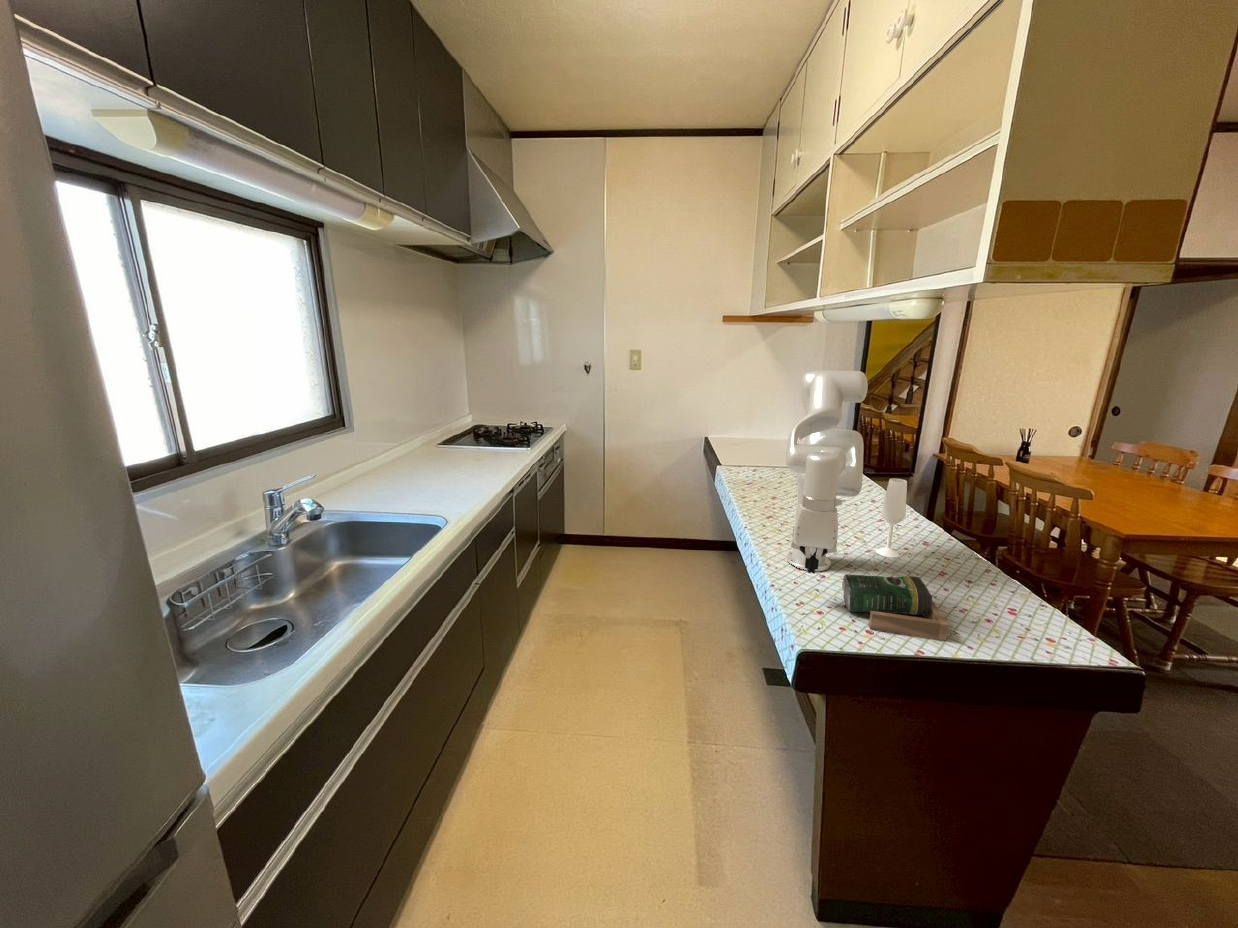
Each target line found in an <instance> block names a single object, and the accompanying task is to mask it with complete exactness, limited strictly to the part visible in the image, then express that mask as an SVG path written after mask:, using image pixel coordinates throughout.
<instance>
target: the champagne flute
mask: <svg viewBox="0 0 1238 928" xmlns="http://www.w3.org/2000/svg"><path fill="white" fill-rule="evenodd" d="M887 483H888V484H887V486H886V487H887V488H886V492H885V496H884V498H883V503H882V507H881V511H880V515H881V516H882V519H883V520H885V521H886V523H887V524H889V525H888V526H889V527H888V532H887V537H886V546H884V547H881V548H880V547H879V548H878V549H877V548H876V549H875V553H876V554H878V555H880V556H883V557H886V558H887V557H888V558H898V557H900V554H899V552H897V551H896V550H895V549H893V548H892V547H891V546H892V540H893V534H894V533H893V531H894V526H895V525H897V524H900V523H901V522H902V521H903V520H904V519H905V518H906V517H907V516H906V515H907V514H906V512H907V511H906V510H907V489H908V481H907V480H906V479H903V478H895V477H894V478H889V479H888V482H887Z"/></svg>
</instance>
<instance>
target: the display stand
mask: <svg viewBox="0 0 1238 928" xmlns="http://www.w3.org/2000/svg"><path fill="white" fill-rule="evenodd" d="M869 613H870V614H869V619H868V620H869V621H868V628H870V629H872V631H877V630H878V631H877V632H883V631H884V632H885V633H891V634H898V635H903V636H904V635H905V636H912V637H918V638H925V639H931V640H937V639H939V640H938V641H944V640H947V637H948V636H947V635H948V629H949V623H948V622H947V620H946V619H945V617H944V616H943V614H942V613H941V611H940V610H939V608H938V606H937V605H936V603H935V601H934V600H933V599H932V610H931V611H930V612H929V613H928V614H924V615H923V616H925V617H917V616H912V615H911V616H910V615H903V614H897V613H891V612H876V611H871V612H869ZM870 629H869V630H870Z"/></svg>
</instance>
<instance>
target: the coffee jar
mask: <svg viewBox="0 0 1238 928" xmlns="http://www.w3.org/2000/svg"><path fill="white" fill-rule="evenodd" d="M841 582H842V584H841V585H842V586H841V587H842V590H843V595H842V596H843V600H844V604H845V606H846V608H847V610H848V611H849V612H851V613H871V611H876V612H883V613H893V614H897V613H898V614H908V615H911V616H912V615H913V616H918V615H919V616H921V615H923V616H924V614H928V613H929V612H930V611H931V610H932V600H933V595H931V592H930V591H929V589H928V588H927V585H926V584H925V583H924V582H923V580H922V579H921V577H920V576H919V577H918V576H911V575H902V576H901V575H900V576H881V575H865V574H847V573H846V574H844V575H843V580H842V581H841Z"/></svg>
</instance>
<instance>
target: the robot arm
mask: <svg viewBox="0 0 1238 928" xmlns="http://www.w3.org/2000/svg"><path fill="white" fill-rule="evenodd" d="M868 386H869V385H868V378H867V375H866V374H865V372H862V371H861V370H835V369H834V370H833V369H832V370H831V369H826V370H825V369H824V370H823V369H818V370H811V371H808V372H805V373H804V374H803V376H802V377H801V382H800V396H801V400H802V405H803V407H804V412H805V414H806V415H804V416H803V417H802V418H801V419H800V420H799V421H798V422H797V423H795V425H794V426H793V427H792V429H791V431H790V433H789V434H788V437H787V446H786V455H785V465H786V468H787V469H788V470H789V471H790V472H792V473H795V474H796V490H797V491H796V492H797V494H796V495H797V496H796V511H795V515H794V522H793V527H792V540H791V542H790V547H791V551H790V552H788V553H787V554H786V556H785V560H786V562H787V561H788V562H789V563H790V564H789V563H788V562H787V563H788V564H789V565H791V564H792V565H794V566H795V567H794V566H793V567H794V568H796V567H797V569H799V568H800V570H803V569H804V570H803V571H807V573H808V574H816V572H822V571H826V570H828V569H829V568H831V564H832V562H831V560H830V559H829V558H828V557H827V554H832V553H837V551H838V549H837V545H838V534H839V514H838V508H837V507H838V506H842V505H843V500H842V499H838V498H837V497H847V498H850V497H851V498H853V497H857V496H858V495H859V494H861V491H862V487H863V479H864V476H863V475H864V473H863V472H864V447H865V446H864V439H863V435H862V434H861V433H860V432H859V431H856V430H853V429H852V430H851V429H842V428H841V429H839V428H837V426H838V425H839V424H840V423H841V421H842V419H843V403H859V404H860V403H862V402H863V401H864V400H866V397H867V394H868ZM803 439H804V443H801V444H800V441H802V440H803ZM792 565H791V566H792Z"/></svg>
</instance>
